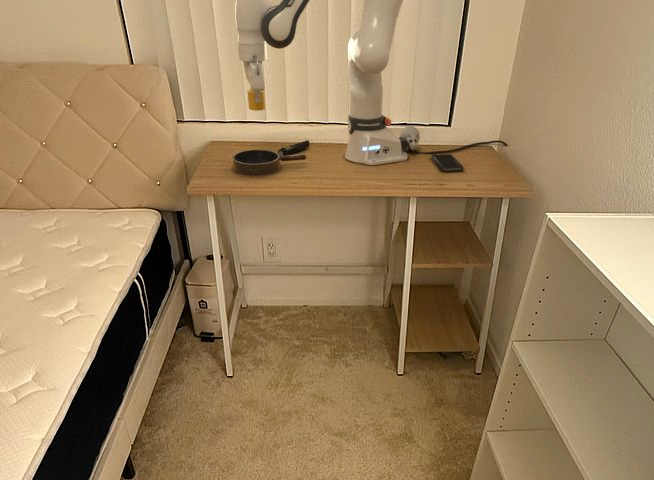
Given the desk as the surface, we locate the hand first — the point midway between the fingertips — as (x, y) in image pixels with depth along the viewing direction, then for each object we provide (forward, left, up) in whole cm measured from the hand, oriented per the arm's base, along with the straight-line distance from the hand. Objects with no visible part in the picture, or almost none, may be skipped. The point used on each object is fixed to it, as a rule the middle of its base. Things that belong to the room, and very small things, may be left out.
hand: (256, 100), depth 186 cm
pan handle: (-10, +11, -17) cm, 23 cm away
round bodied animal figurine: (-54, +5, -19) cm, 58 cm away
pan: (+3, +11, -19) cm, 22 cm away
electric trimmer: (-12, -3, -19) cm, 23 cm away
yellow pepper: (0, 0, -3) cm, 3 cm away
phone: (-62, +21, -19) cm, 68 cm away
